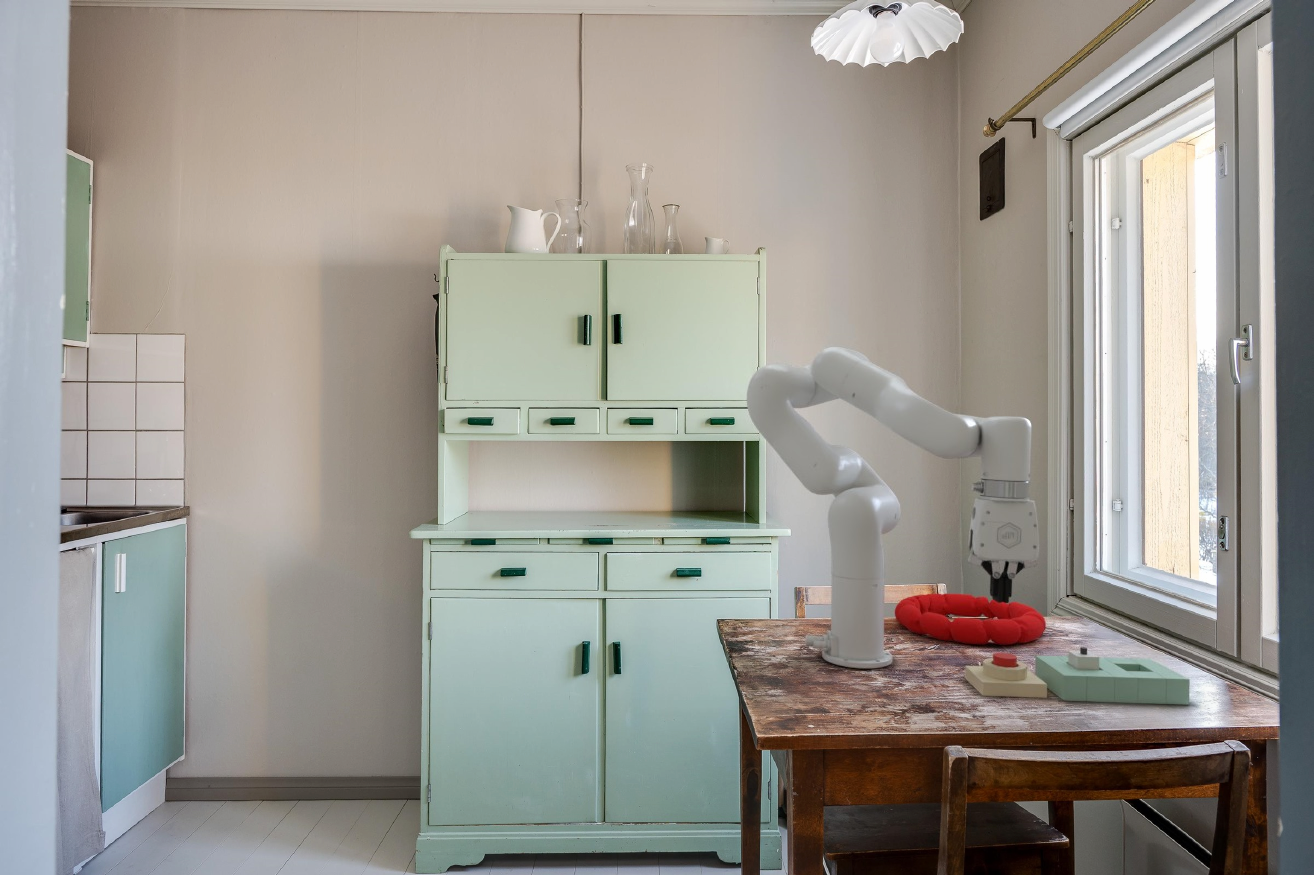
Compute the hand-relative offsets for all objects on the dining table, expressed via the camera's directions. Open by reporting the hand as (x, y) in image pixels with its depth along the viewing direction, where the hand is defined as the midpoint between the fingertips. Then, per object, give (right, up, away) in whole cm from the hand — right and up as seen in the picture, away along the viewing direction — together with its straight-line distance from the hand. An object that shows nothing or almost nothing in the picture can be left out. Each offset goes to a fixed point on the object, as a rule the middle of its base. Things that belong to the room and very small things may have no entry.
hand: (1000, 601), depth 131 cm
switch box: (0, -14, -1) cm, 14 cm away
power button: (0, -11, -1) cm, 11 cm away
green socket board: (+17, -14, -2) cm, 22 cm away
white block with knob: (+13, -14, -2) cm, 19 cm away
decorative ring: (+10, -14, +39) cm, 42 cm away
